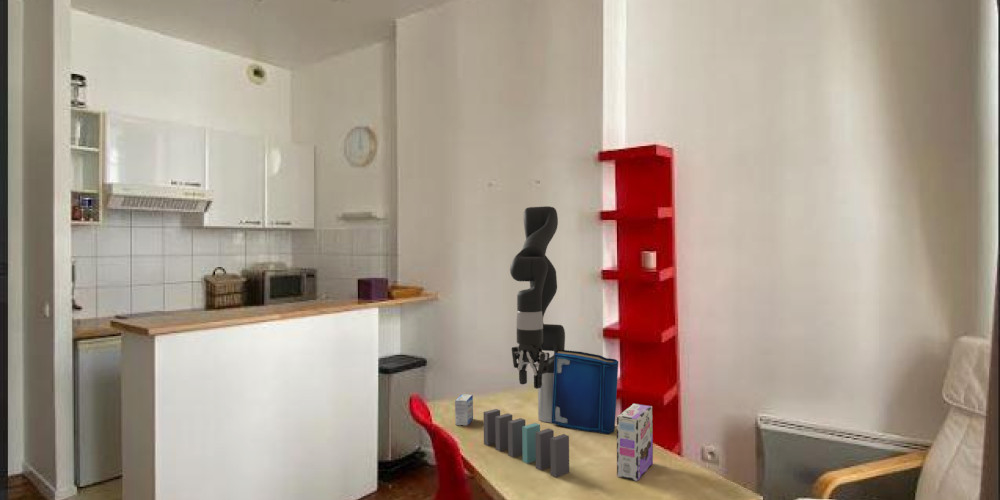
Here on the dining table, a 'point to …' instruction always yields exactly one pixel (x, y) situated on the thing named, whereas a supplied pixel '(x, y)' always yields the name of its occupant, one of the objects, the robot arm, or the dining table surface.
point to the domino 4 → (529, 442)
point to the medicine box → (464, 410)
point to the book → (584, 391)
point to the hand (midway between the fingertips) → (530, 385)
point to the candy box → (634, 441)
